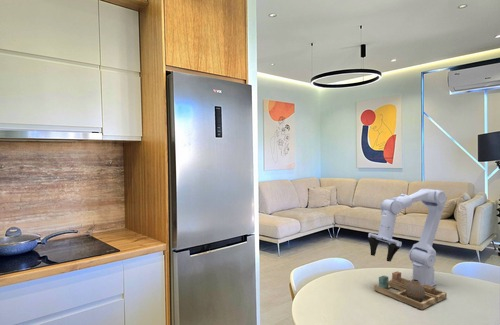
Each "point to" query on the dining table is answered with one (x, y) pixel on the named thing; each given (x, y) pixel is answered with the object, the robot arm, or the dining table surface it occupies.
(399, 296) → the tray
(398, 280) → the frame
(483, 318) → the dining table surface
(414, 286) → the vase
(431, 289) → the walnut cube
